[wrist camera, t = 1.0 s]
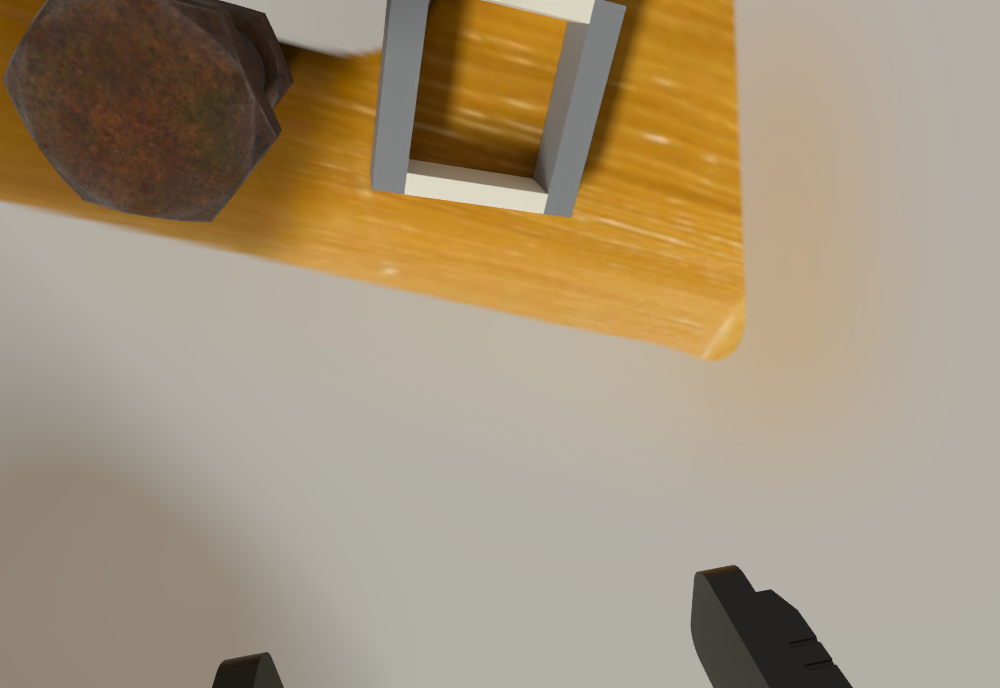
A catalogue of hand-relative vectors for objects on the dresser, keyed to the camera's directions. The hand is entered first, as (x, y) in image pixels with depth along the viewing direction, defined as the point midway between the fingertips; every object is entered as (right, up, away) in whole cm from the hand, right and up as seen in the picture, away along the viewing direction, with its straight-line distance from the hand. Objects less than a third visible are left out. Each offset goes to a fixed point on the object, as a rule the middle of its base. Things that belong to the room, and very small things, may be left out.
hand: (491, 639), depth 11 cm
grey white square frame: (-1, +18, +18) cm, 26 cm away
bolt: (-11, +18, +15) cm, 27 cm away
